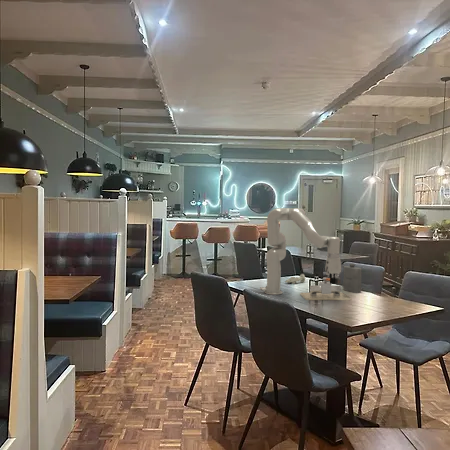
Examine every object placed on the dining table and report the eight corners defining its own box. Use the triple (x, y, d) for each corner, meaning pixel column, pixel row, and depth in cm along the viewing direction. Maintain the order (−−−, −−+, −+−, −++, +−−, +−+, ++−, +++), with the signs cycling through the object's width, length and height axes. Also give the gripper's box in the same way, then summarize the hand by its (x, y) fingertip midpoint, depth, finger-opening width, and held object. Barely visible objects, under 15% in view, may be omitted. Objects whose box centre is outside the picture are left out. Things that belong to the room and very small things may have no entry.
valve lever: (321, 281, 289) (322, 275, 289) (325, 281, 291) (325, 275, 291) (337, 284, 278) (337, 278, 278) (340, 284, 280) (340, 278, 280)
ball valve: (305, 299, 281) (306, 282, 280) (300, 294, 297) (300, 278, 296) (350, 300, 282) (351, 282, 282) (342, 294, 298) (343, 278, 298)
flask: (340, 289, 317) (341, 262, 316) (346, 288, 320) (347, 262, 319) (356, 293, 304) (357, 265, 303) (362, 292, 307) (363, 264, 306)
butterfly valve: (290, 284, 332) (308, 281, 339) (284, 259, 336) (302, 256, 343) (284, 286, 340) (302, 282, 347) (279, 261, 344) (296, 258, 351)
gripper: (328, 257, 271) (327, 285, 272) (346, 256, 278) (345, 283, 279) (320, 255, 277) (319, 283, 278) (337, 254, 285) (336, 282, 286)
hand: (332, 283), depth 279 cm, fingers closed
